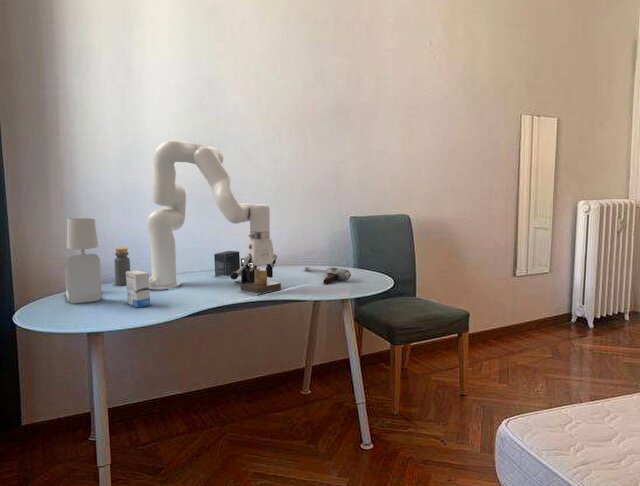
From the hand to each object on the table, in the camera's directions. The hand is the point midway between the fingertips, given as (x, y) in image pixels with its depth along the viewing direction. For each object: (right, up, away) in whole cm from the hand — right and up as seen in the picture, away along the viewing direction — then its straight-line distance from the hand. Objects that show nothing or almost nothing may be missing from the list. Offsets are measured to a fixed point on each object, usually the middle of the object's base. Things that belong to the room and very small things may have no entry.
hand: (260, 278), depth 208 cm
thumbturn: (0, -2, 0) cm, 2 cm away
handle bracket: (-7, -3, +14) cm, 16 cm away
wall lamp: (-63, -6, -13) cm, 65 cm away
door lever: (-9, +2, +11) cm, 14 cm away
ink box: (-39, -7, -21) cm, 45 cm away
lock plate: (0, -5, +1) cm, 5 cm away
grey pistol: (+22, -2, +28) cm, 36 cm away
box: (-20, -1, +32) cm, 38 cm away
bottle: (-59, -3, +12) cm, 61 cm away
